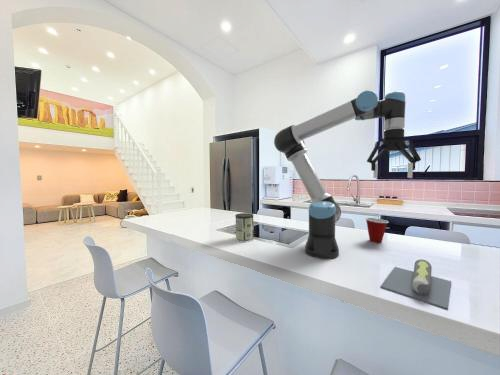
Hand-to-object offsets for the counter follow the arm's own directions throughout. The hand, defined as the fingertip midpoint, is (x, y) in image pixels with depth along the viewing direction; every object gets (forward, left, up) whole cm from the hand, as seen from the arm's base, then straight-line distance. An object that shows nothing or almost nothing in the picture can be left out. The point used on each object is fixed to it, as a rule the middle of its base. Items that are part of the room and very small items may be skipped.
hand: (392, 178), depth 94 cm
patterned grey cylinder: (+5, -17, -32) cm, 37 cm away
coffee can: (-71, +7, -35) cm, 79 cm away
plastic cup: (0, +19, -35) cm, 40 cm away
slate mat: (-2, -28, -35) cm, 45 cm away
